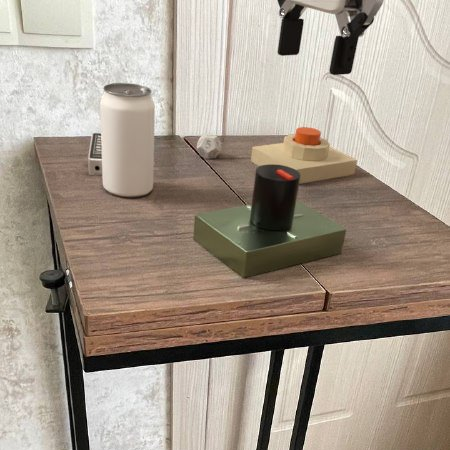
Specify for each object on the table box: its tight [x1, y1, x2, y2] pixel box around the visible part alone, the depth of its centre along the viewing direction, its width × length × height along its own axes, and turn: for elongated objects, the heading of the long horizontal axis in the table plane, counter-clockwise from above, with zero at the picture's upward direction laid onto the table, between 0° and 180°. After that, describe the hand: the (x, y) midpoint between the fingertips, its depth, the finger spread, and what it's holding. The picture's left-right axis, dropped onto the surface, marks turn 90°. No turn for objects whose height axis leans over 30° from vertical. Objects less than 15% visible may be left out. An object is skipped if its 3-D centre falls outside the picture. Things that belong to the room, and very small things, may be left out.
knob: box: [250, 164, 300, 230], centre depth 68 cm, size 5×5×6 cm
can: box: [99, 82, 156, 199], centre depth 78 cm, size 6×6×12 cm
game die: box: [196, 133, 222, 160], centre depth 93 cm, size 4×4×3 cm
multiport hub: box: [87, 132, 103, 177], centre depth 88 cm, size 4×11×2 cm, turn 6°
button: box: [295, 126, 322, 146], centre depth 91 cm, size 4×4×2 cm
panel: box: [193, 199, 347, 279], centre depth 71 cm, size 14×10×3 cm
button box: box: [250, 133, 358, 185], centre depth 93 cm, size 12×10×4 cm
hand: (313, 63), depth 78 cm, fingers open, 9 cm apart
